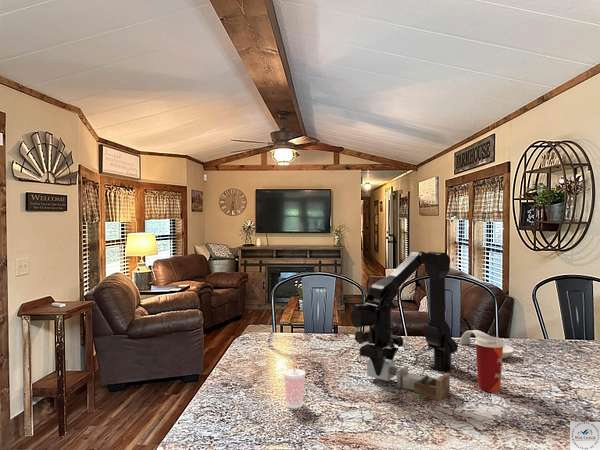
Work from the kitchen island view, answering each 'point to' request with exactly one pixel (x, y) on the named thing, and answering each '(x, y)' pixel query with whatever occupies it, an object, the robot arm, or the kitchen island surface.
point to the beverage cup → (294, 386)
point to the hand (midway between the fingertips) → (382, 373)
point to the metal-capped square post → (411, 379)
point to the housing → (432, 389)
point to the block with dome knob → (387, 370)
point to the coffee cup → (489, 362)
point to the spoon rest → (466, 336)
